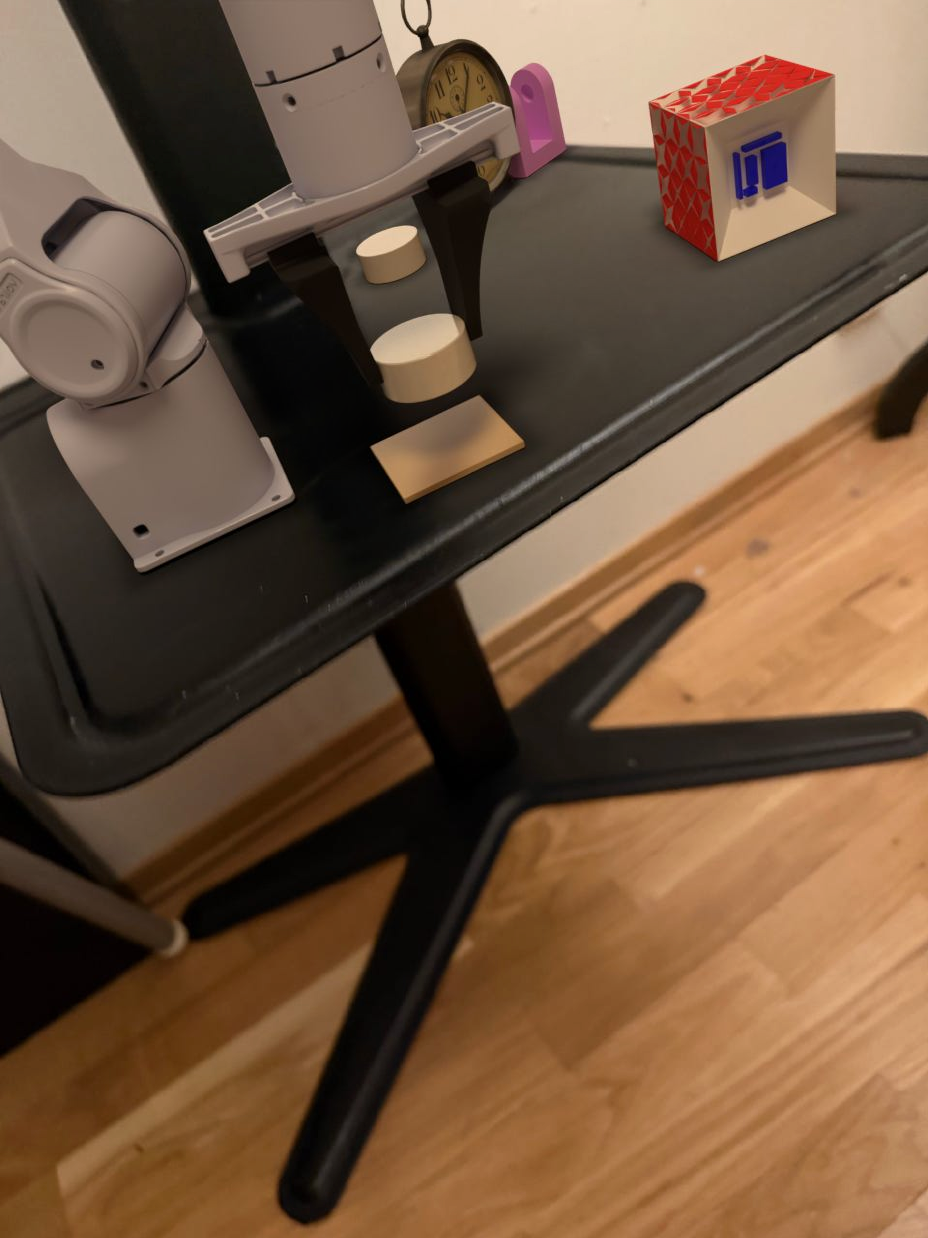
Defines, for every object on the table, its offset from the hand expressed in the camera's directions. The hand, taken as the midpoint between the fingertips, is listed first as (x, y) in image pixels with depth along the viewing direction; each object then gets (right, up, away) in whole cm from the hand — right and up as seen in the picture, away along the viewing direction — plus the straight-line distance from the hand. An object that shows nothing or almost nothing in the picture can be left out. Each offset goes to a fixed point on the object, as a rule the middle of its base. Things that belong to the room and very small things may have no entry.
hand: (422, 354), depth 46 cm
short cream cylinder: (0, -1, +1) cm, 1 cm away
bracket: (+5, +28, +36) cm, 46 cm away
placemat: (+1, -4, +4) cm, 6 cm away
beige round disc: (-3, +14, +25) cm, 29 cm away
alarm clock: (+3, +21, +30) cm, 36 cm away
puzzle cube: (+21, +12, +13) cm, 27 cm away
